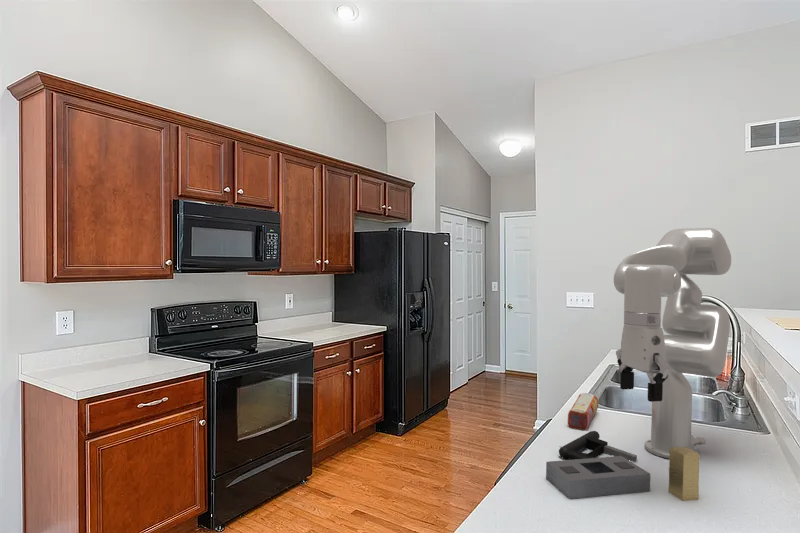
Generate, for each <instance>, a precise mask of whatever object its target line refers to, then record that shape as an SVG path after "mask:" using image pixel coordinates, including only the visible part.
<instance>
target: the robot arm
mask: <svg viewBox="0 0 800 533" xmlns="http://www.w3.org/2000/svg"><path fill="white" fill-rule="evenodd" d="M731 265H732V255H731V251H730V248H729V245H728V244H727V241H726V240H725V237H724V235H723V234H722V233H721V232H720V231H719V230H718V229H715V228H713V227H697V228H695V227H694V228H687V227H686V228H675V229H672V230H669V231H668V232H666V233H665V234H664V235H663V236H662V237H661V239H660V240H659V242H658V243H657V244H656V245H655V246H651V247H648V248H646V249H643V250H640V251H636V252H634V253H630V254H629V255H628V256H626V257H624V258H623V259H622V261H620V263H619V264H618V266H617V267H616V268H615V270H614V271H615V272H614V274H613V285H614V288H615V290H616V291H617V292H618V293H621V294H622V295H624V297H623V298H624V300H623V327H622V334H621V340H620V348H619V349H617V350H616V351H615V355H616V359H617V362H616V363H617V364H618V371H619V372H620V375H619V376H620V380H619V381H620V382H619V383H620V384H619V386H620V387H619V389H620V390H634V389H635V372H634V371H633V370H636V371H639V372H641V373H646V376H647V378H648V380H649V382H648V383H647V401H648V402H650V403H651V424H650V425H651V426H650V429H651V430H650V439H648V440H646V441H644V449H645V450H646V451H647V452H649V453H651V454H652V455H655V456H658V457H661V458H664V459H668V460H669V459H670V448H673V447H687V448H689V449H691V450H693V451H695V452H697V453H699V452H698V451H697V449H696V448H695V447H696V446H697V445H698V446H700V445H706V443H707V440H706V438H705V437H703V436H700V437H699V436H697V437H695V436H694V435H693V434H692V415H693V389H692V385H691V384H690V382H689V380H688V379H687V377H685V375H684V374H691V375H698V376H705V377H718V376H720V375H721V374H723V371H724V369H725V365H726V360H727V352H728V346H729V345H728V344H729V338H730V330H731V320H730V315H729V313H728V311H727V309H725V308H724V307H721V306H720V305H714V304H702V299H703V292H702V290H701V288H700V287H699V285H697V284H696V283H695V282H694V280H692V279H691V278H690V277H689V276H688V275H698V276H699V275H700V276H703V275H704V276H721V275H724V274H726V273H728V272H729V270H730V268H731ZM662 298H666V301H665V307H664V310H663V311H664V312H663V315H662V314H661V313H662ZM661 320H662V321H661ZM661 323H662V326H661ZM664 332H665V333H666V334H664Z"/></svg>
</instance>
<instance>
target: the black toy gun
mask: <svg viewBox="0 0 800 533" xmlns="http://www.w3.org/2000/svg"><path fill="white" fill-rule="evenodd" d="M600 437H601V436H600V433H599V432H598V431H596V430H590V431H589V432H587V433H585V434H583V435H581V436H580V437H577V438H576V439H574V440H572V441H570V442H568V443H567V444H565V445H562V446H559V449H558V455H559V457H560V458H562V459H563V460H564V459H565V460H575V459H587V458H599V456H600V455H602V454H606V455H610V456H612V455H613V456H622V457H624V458H626V459H627V460H630V462H632V461H633V462H632V463H635V462H636V461H637V460H638V455H636V454H634V453H632V452H631V453H630V452H628V451H625V450H622V449H620V448H616V447H613V446H611V445H608V441H605V440H603V439H600ZM584 449H587V450H588V451H589V450H590V452H583V451H582V450H584ZM613 456H612V457H613Z"/></svg>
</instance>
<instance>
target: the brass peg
mask: <svg viewBox="0 0 800 533" xmlns="http://www.w3.org/2000/svg"><path fill="white" fill-rule="evenodd" d="M697 452H698V451H697ZM697 452H695V451H693V450H691V449H689V448H687V447H673V448H670V459H668V460H669V464H668V465H669V467H668V493H669V494H671V495H673V496H674V497H676V498H677V499H679V500H680V501H682V502H684V501H695V500H699V490H700V489H699V484H700V453H699V452H698V453H697Z"/></svg>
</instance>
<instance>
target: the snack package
mask: <svg viewBox="0 0 800 533" xmlns="http://www.w3.org/2000/svg"><path fill="white" fill-rule="evenodd" d="M598 408H599V399H598V397H597V396H596V395H595V394H592V393H588V392H582V393H579V395H578V397H577V399H576V400H575V402H574V403H573V405H572V407H571V408H570V409H569V411H568V413H567V426H568V427H569V428H570V429H572V430H579V431H586V430H587V429H589V426H590V423H591V422H592V420H593V417H594V416H595V414H596V413H597V412H598Z"/></svg>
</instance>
